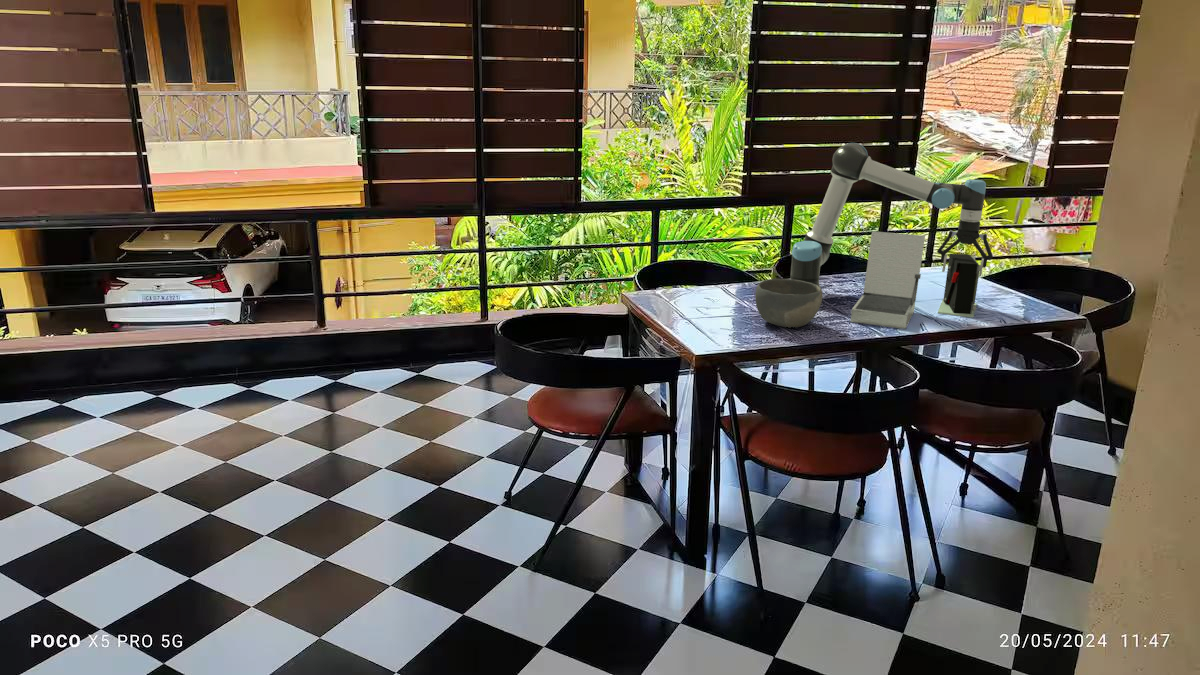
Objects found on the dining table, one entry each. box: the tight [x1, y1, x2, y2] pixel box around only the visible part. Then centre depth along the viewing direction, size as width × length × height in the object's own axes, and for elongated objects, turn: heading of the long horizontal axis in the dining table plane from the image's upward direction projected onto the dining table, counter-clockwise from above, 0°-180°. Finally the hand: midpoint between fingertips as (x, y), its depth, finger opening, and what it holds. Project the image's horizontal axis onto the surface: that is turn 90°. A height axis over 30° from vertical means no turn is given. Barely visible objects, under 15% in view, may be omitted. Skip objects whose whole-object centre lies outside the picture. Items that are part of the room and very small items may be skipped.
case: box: [850, 230, 926, 330], centre depth 325 cm, size 20×31×30 cm, turn 154°
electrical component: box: [942, 253, 983, 314], centre depth 335 cm, size 18×10×20 cm, turn 167°
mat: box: [937, 298, 978, 318], centre depth 339 cm, size 13×21×1 cm, turn 154°
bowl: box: [754, 278, 823, 329], centre depth 315 cm, size 24×24×15 cm
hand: (961, 273), depth 334 cm, fingers open, 13 cm apart
